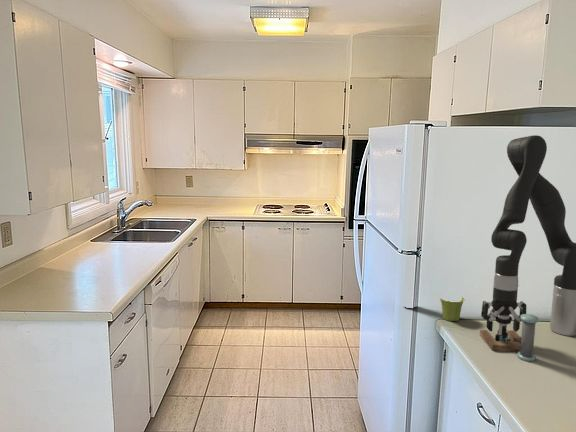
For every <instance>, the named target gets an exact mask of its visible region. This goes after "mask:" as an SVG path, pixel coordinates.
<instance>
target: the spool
mask: <svg viewBox="0 0 576 432" xmlns="http://www.w3.org/2000/svg"><path fill="white" fill-rule="evenodd" d="M520 319H521V322H522V323H521V325H522V326H521V335H520V337H521V349H520V351H517V358H518V359H520V360H521V361H524V362H528V363H530V362H531V363H533V362H535V361H536V355H535V354H534V345H535V344H534V343H535V334H536V333H535V332H536V324H537V323H539V317H538V316H536V315H533V314H531V313H530V314H529V313H526V314H522V315H521V316H520Z"/></svg>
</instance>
